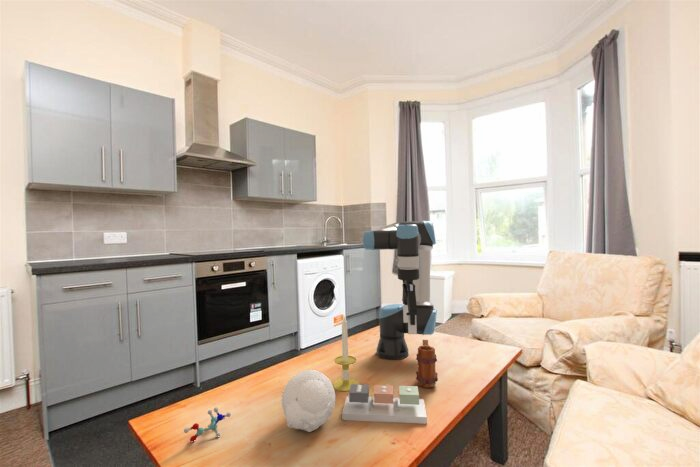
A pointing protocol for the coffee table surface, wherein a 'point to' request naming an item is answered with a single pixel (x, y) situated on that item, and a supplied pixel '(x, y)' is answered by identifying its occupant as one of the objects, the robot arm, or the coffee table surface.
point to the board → (385, 411)
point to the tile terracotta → (383, 394)
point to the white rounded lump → (308, 400)
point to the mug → (426, 365)
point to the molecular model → (211, 426)
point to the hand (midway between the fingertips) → (409, 327)
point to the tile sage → (409, 395)
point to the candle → (344, 363)
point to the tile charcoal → (359, 393)
